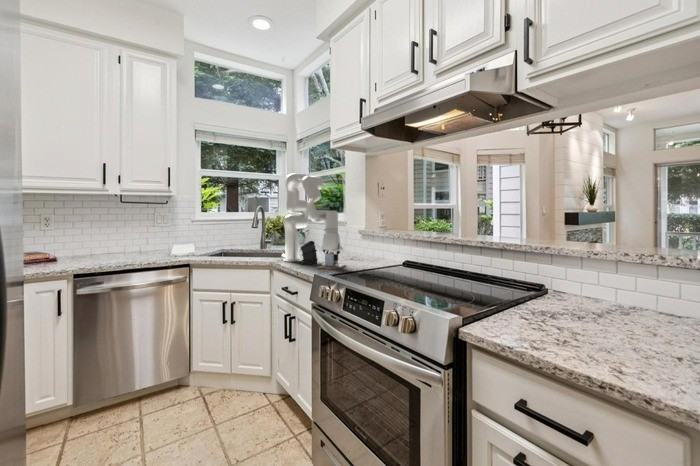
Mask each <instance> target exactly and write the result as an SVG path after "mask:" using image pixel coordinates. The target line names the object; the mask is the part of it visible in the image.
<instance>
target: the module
mask: <svg viewBox="0 0 700 466" xmlns="http://www.w3.org/2000/svg"><path fill="white" fill-rule="evenodd" d="M334 255H335V252H334V251H329V253H328V254H324V262H325V266H333V263H339V260H338V261H336V262H335V261H334Z"/></svg>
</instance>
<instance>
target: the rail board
mask: <svg viewBox="0 0 700 466" xmlns="http://www.w3.org/2000/svg"><path fill="white" fill-rule="evenodd" d="M346 267H347V264H342V263H339V262H338V263H333V266H325V261H324V262H322V263H321V265H319V266H316V269H320V270H329V271H336V270H339V269H341V268H346Z"/></svg>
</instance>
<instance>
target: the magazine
mask: <svg viewBox="0 0 700 466" xmlns="http://www.w3.org/2000/svg"><path fill="white" fill-rule="evenodd" d="M315 244H316V243H315V241H314V240H310V241H307V242H306V243H305V244H303V245H302V246H300V248H299V251H301V253H302V254H301V256H302V260H301V261H302V263H303V264H306V265H313V266H316V265H318V261H319V258H318V257H317V251H318V250H317V249H316V246H315Z"/></svg>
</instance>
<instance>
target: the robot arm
mask: <svg viewBox="0 0 700 466" xmlns="http://www.w3.org/2000/svg"><path fill="white" fill-rule="evenodd" d="M285 178H286V179H285V187H286V189H285V190H286V205H285V206H286V207H285V208H286V211H287V212H288V213H291V214H288V215H286V216H284V218H283V227H284V235H285V237H284V238H285V239H284V240H285V241H284V242H285V243H284V244H285V245H284V248H285V249H284V250H285V253H282V254H281V257H283V262H301V261H302V260H303V257H302V258H301V257H300V234H299V231H298V229H305V228H306V227H308V224H309V219H310V220H311V222H312V223H315V224H316V223H325V224H324V225H325V228H324V229H323V232H325V233H323V239H322V245H321V247H320V250H321V251H322V252H323V254H324V255H325V254H328V253H330V251H333V252H334V253H335V255H334V261H335V262H336V261H338V262H339V255H340V254H341V252H342V251H343V250H344V249H343V247H342V246H341V237H340V233H339V213H338V211H337V210H327V209H325V210H323V209H317V208H316V206H315V203H317V202H318V201H319V200H321V198H322V193H321V191H320V190H322V189H323V186H324V182H323V180H322V178H321V177H319V176H315V175H311V174H306V173H298V172H297V173H295V172H294V173H290V174H288V175H287V177H285ZM298 187H302V188H303V190H304V192H305V194H306V197H307V198H308V200H306V199H302V198H300V191H299V189H298ZM292 213H293V214H292ZM295 213H296V214H295Z"/></svg>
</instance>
